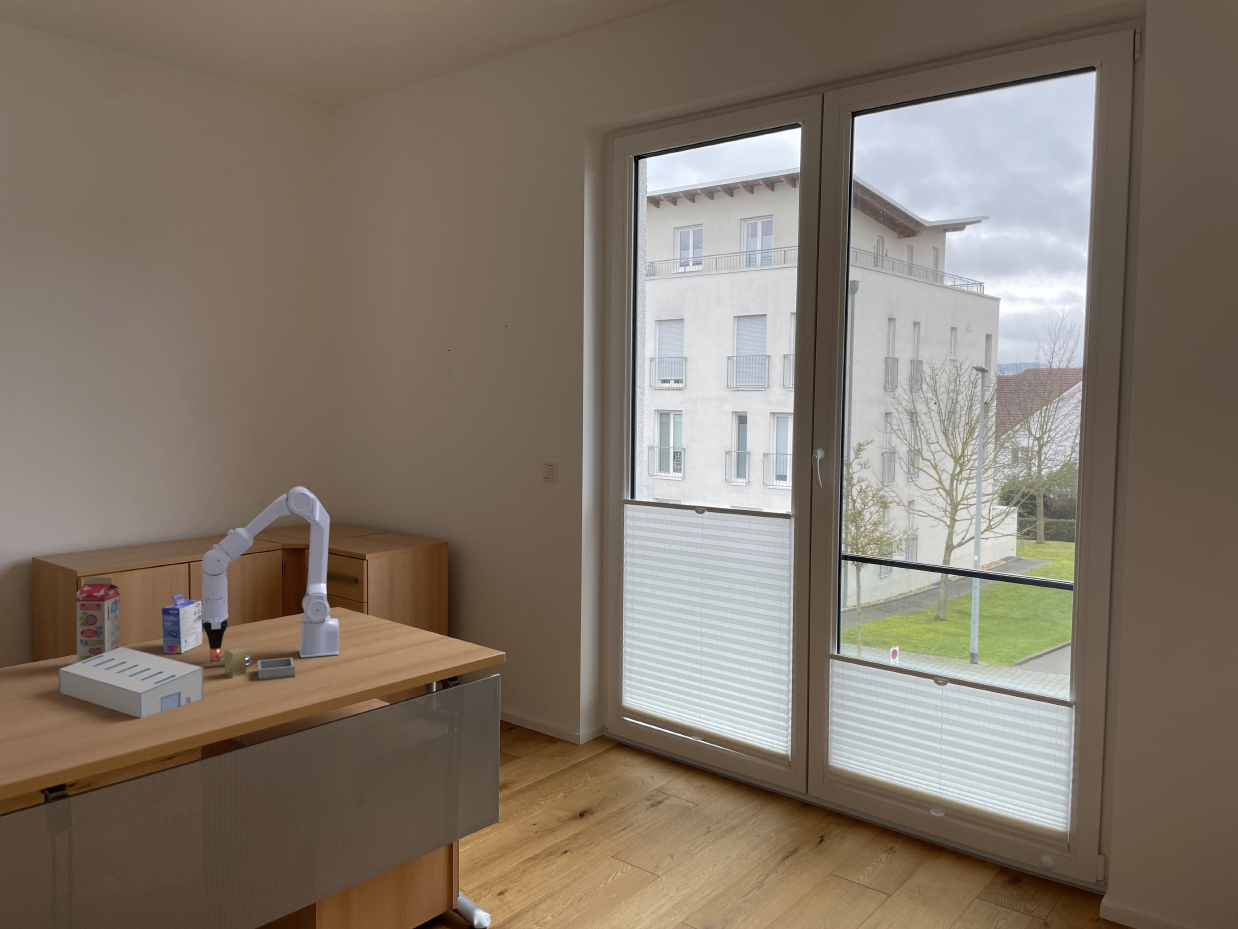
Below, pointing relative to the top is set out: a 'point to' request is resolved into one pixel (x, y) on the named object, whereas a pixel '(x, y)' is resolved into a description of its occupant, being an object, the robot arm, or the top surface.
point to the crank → (216, 656)
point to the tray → (276, 668)
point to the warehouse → (133, 681)
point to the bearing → (249, 663)
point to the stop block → (235, 662)
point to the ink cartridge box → (181, 625)
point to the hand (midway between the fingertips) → (215, 650)
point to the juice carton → (97, 617)
